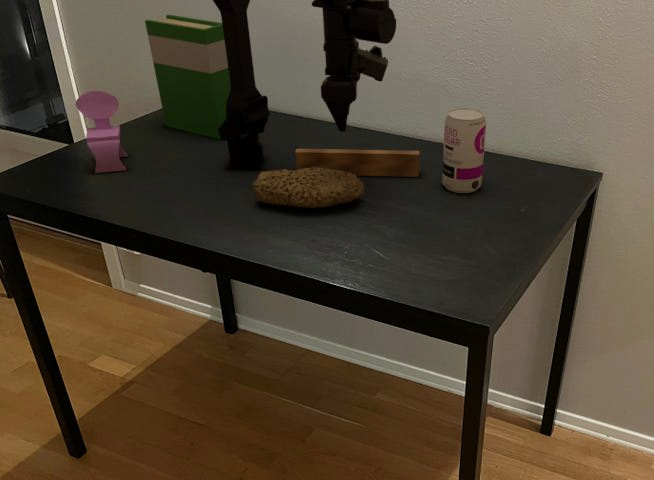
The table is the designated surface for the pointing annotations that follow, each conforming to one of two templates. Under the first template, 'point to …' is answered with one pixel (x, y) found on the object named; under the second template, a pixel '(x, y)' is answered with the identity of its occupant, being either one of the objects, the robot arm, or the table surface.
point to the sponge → (308, 187)
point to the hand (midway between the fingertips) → (344, 123)
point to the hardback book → (190, 73)
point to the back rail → (361, 161)
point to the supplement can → (463, 150)
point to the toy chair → (102, 130)
